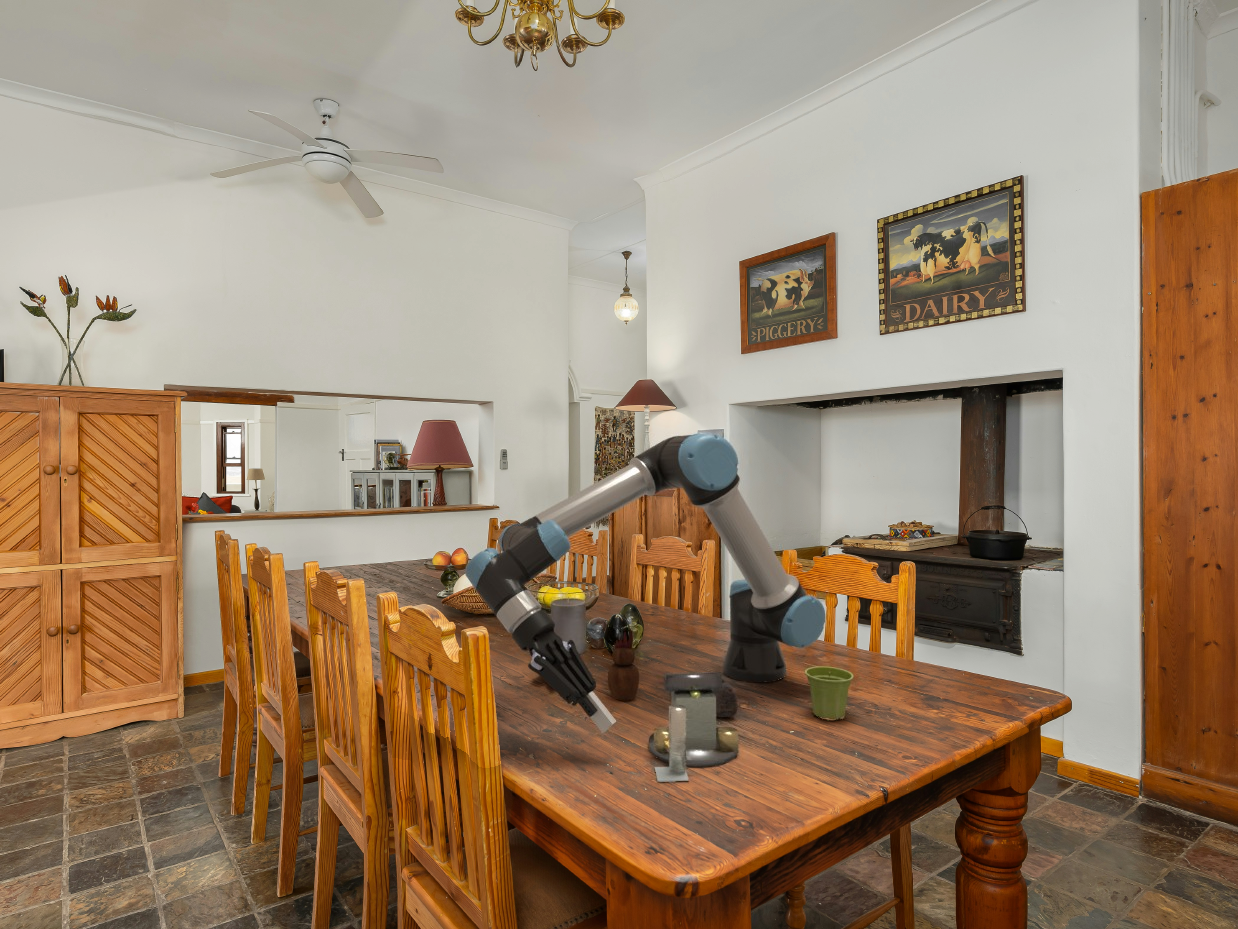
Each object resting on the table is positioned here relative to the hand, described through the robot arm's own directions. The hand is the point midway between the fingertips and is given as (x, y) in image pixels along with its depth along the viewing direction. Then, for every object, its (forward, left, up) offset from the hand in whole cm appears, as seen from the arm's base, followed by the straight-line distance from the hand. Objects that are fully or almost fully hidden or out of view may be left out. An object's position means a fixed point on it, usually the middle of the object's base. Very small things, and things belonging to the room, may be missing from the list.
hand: (609, 727), depth 116 cm
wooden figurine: (-4, -32, -6) cm, 32 cm away
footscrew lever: (-10, +2, -5) cm, 12 cm away
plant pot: (-45, -19, -6) cm, 49 cm away
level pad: (-10, +6, -6) cm, 13 cm away
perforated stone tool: (-23, -24, -6) cm, 34 cm away
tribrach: (-15, -5, -6) cm, 17 cm away
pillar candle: (+9, -71, -6) cm, 72 cm away
